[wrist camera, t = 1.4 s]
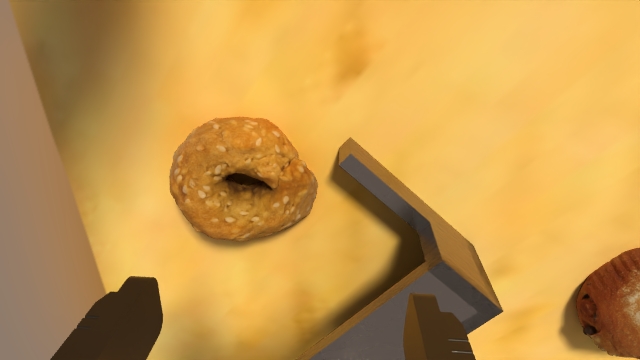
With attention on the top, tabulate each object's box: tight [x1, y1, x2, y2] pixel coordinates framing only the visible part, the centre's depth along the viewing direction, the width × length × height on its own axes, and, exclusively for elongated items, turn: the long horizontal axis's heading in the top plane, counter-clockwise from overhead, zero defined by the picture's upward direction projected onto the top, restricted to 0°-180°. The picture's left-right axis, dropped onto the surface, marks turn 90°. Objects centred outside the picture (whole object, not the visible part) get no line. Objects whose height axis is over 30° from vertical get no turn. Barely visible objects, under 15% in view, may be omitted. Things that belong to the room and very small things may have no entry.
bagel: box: [170, 117, 318, 241], centre depth 31 cm, size 10×11×5 cm
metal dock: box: [296, 137, 503, 360], centre depth 33 cm, size 14×16×8 cm
